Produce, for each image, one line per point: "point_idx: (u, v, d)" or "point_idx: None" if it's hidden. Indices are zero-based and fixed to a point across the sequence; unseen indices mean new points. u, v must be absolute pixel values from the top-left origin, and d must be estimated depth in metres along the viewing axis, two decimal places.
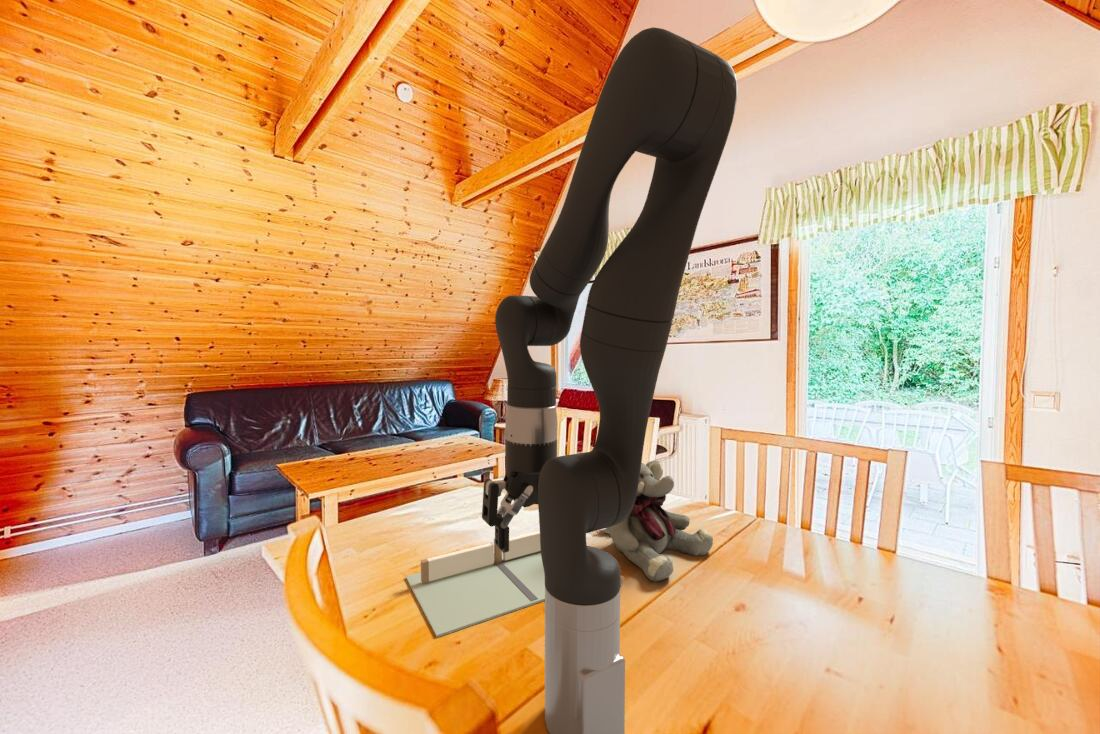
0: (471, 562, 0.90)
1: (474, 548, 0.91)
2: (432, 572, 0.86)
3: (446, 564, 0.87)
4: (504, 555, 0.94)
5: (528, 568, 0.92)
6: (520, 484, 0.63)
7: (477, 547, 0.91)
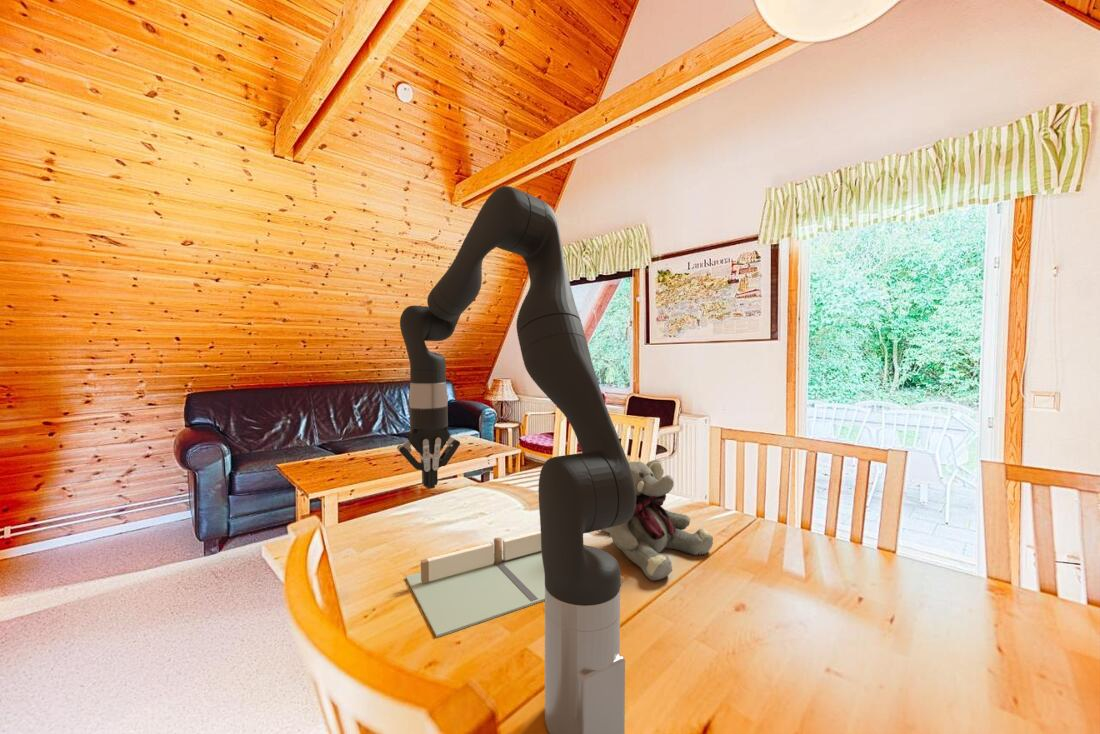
0: (471, 562, 0.90)
1: (474, 548, 0.91)
2: (432, 572, 0.86)
3: (446, 564, 0.87)
4: (504, 555, 0.94)
5: (528, 568, 0.92)
6: (419, 438, 0.89)
7: (477, 547, 0.91)
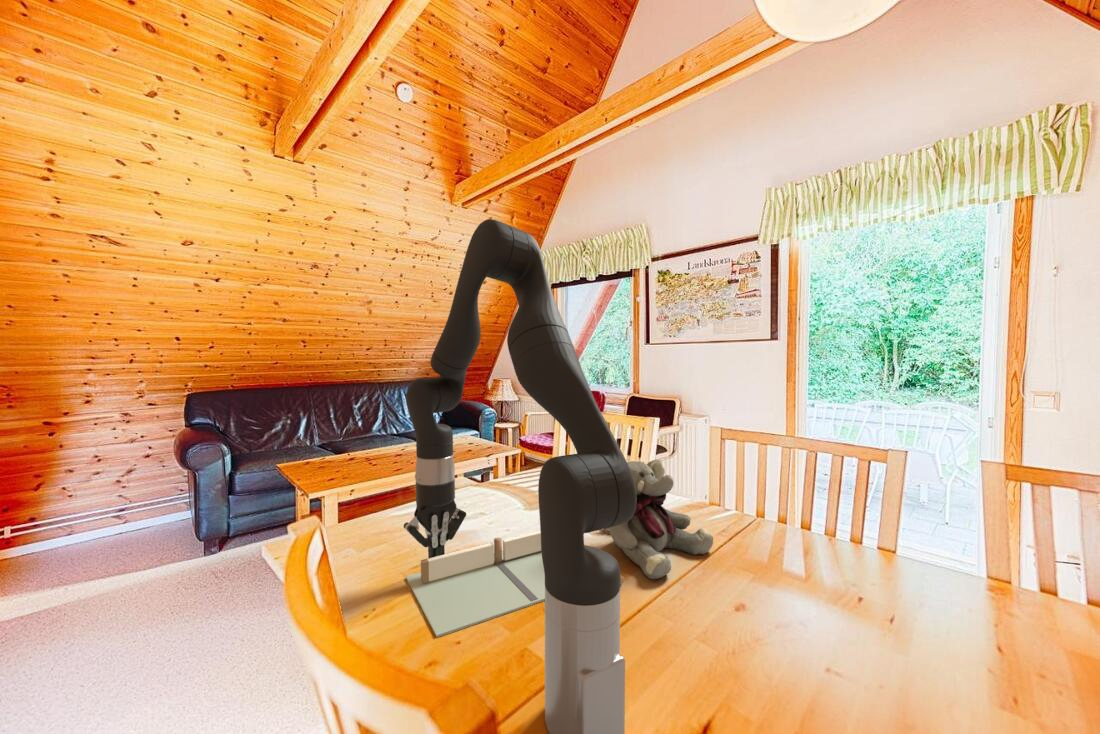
0: (471, 562, 0.90)
1: (474, 548, 0.91)
2: (432, 572, 0.86)
3: (446, 564, 0.87)
4: (504, 555, 0.94)
5: (528, 568, 0.92)
6: (427, 514, 0.86)
7: (477, 547, 0.91)
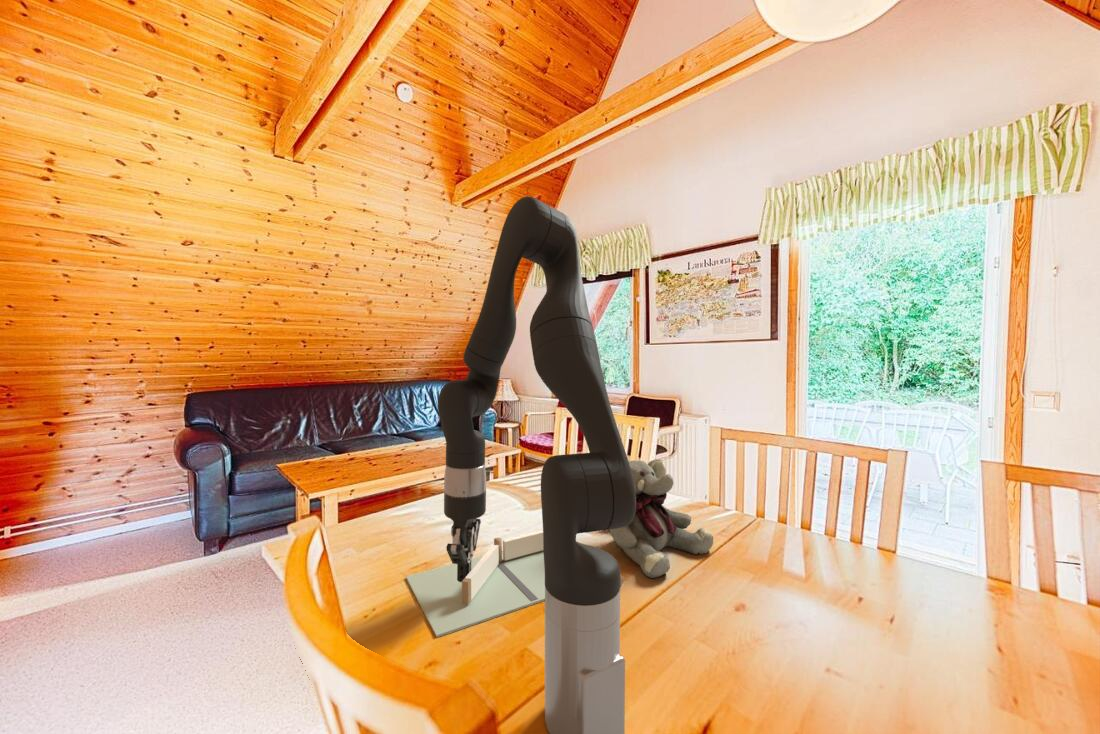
0: (489, 568, 0.88)
1: (488, 553, 0.89)
2: (472, 589, 0.80)
3: (479, 577, 0.83)
4: (504, 555, 0.94)
5: (528, 568, 0.92)
6: (466, 528, 0.79)
7: (489, 552, 0.89)
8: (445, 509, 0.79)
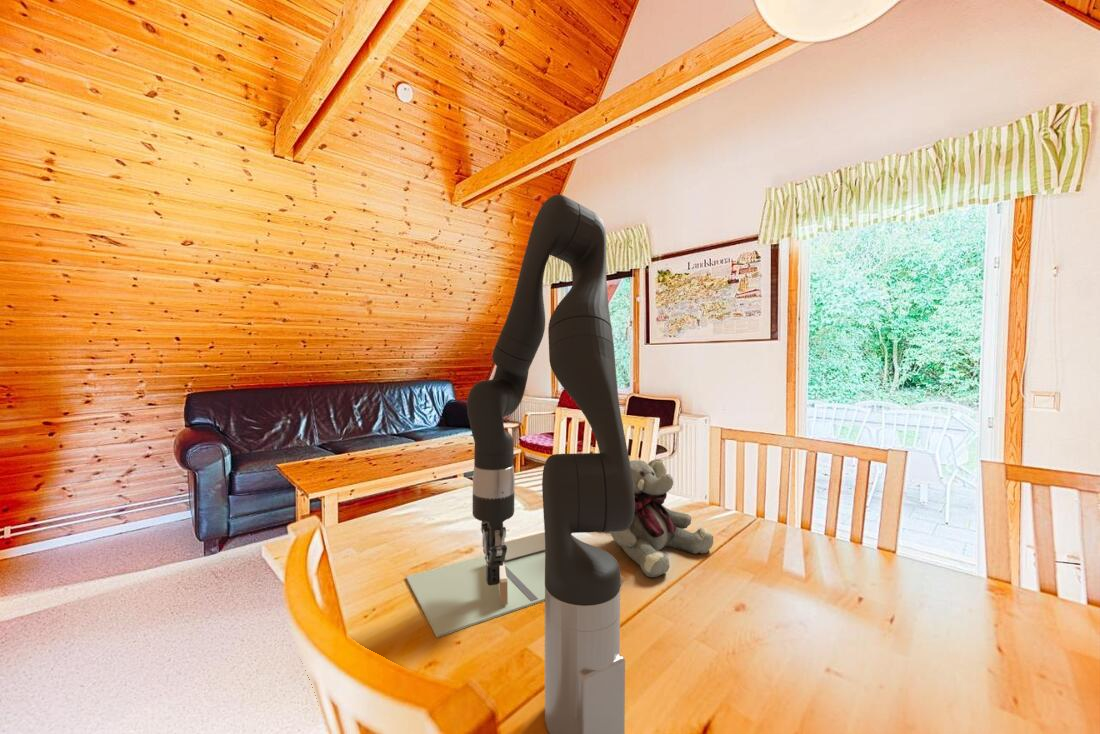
0: None
1: None
2: None
3: None
4: None
5: (528, 568, 0.92)
6: None
7: None
8: (478, 513, 0.77)
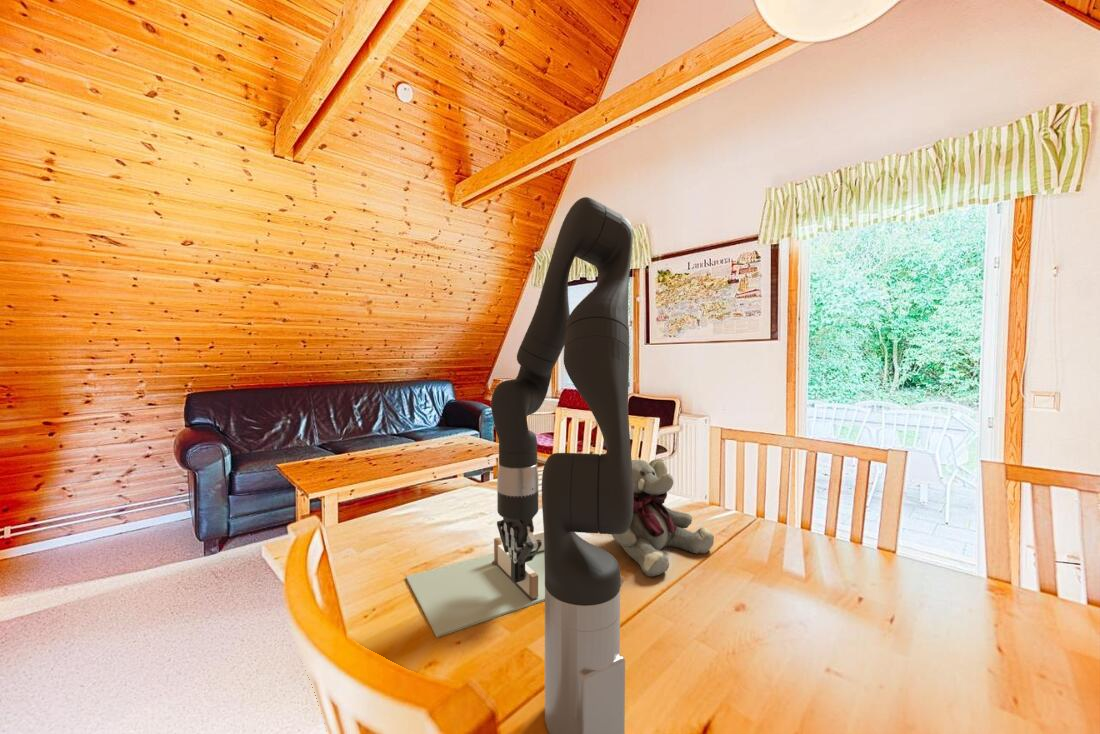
0: None
1: None
2: None
3: None
4: None
5: None
6: None
7: None
8: (509, 512, 0.78)
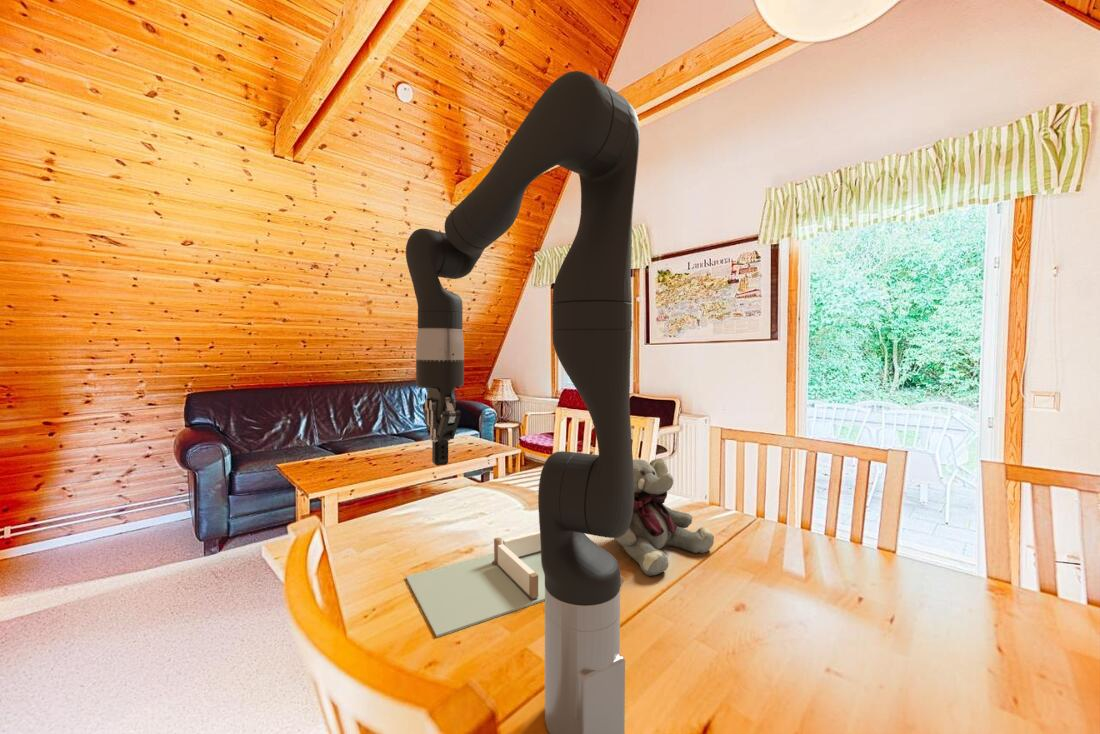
0: None
1: (509, 552, 0.89)
2: None
3: None
4: None
5: None
6: None
7: (507, 551, 0.90)
8: (425, 379, 0.68)
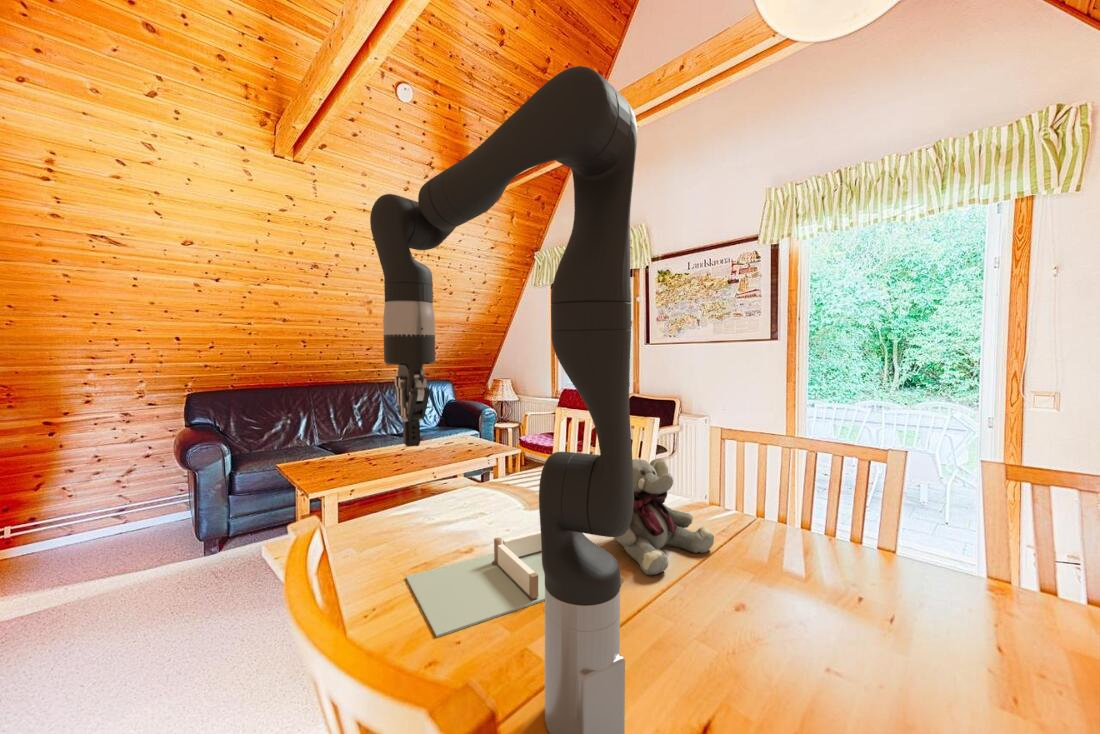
0: None
1: (509, 552, 0.89)
2: None
3: None
4: None
5: None
6: None
7: (507, 551, 0.90)
8: (393, 355, 0.65)
